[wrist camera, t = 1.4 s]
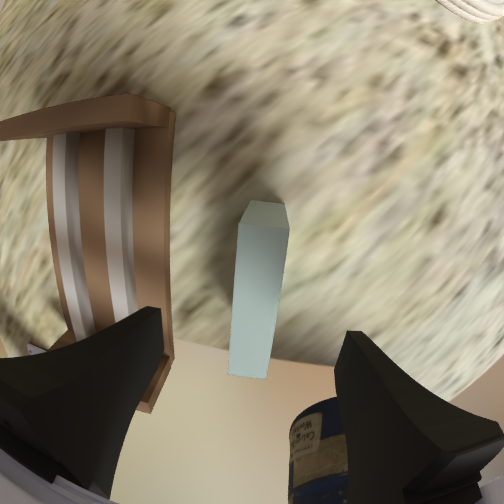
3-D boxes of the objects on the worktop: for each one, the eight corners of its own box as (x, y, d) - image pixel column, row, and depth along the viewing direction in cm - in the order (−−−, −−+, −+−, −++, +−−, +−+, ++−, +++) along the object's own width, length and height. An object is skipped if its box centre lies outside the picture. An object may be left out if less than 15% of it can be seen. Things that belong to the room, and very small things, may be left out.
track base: (174, 360, 21) (150, 413, 16) (76, 334, 22) (41, 373, 16) (176, 110, 15) (129, 93, 10) (56, 122, 16) (-2, 122, 10)
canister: (381, 432, 24) (411, 573, 7) (295, 449, 25) (293, 595, 8) (387, 375, 21) (444, 565, 4) (279, 398, 22) (269, 600, 5)
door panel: (269, 318, 19) (266, 379, 14) (240, 315, 20) (227, 374, 14) (284, 203, 17) (289, 229, 11) (250, 199, 17) (238, 223, 11)
